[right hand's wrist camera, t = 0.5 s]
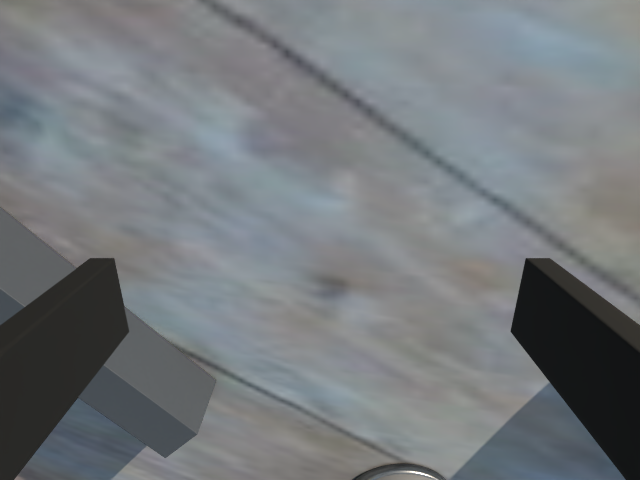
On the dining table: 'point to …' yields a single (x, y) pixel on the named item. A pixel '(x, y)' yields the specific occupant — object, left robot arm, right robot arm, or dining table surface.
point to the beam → (125, 362)
